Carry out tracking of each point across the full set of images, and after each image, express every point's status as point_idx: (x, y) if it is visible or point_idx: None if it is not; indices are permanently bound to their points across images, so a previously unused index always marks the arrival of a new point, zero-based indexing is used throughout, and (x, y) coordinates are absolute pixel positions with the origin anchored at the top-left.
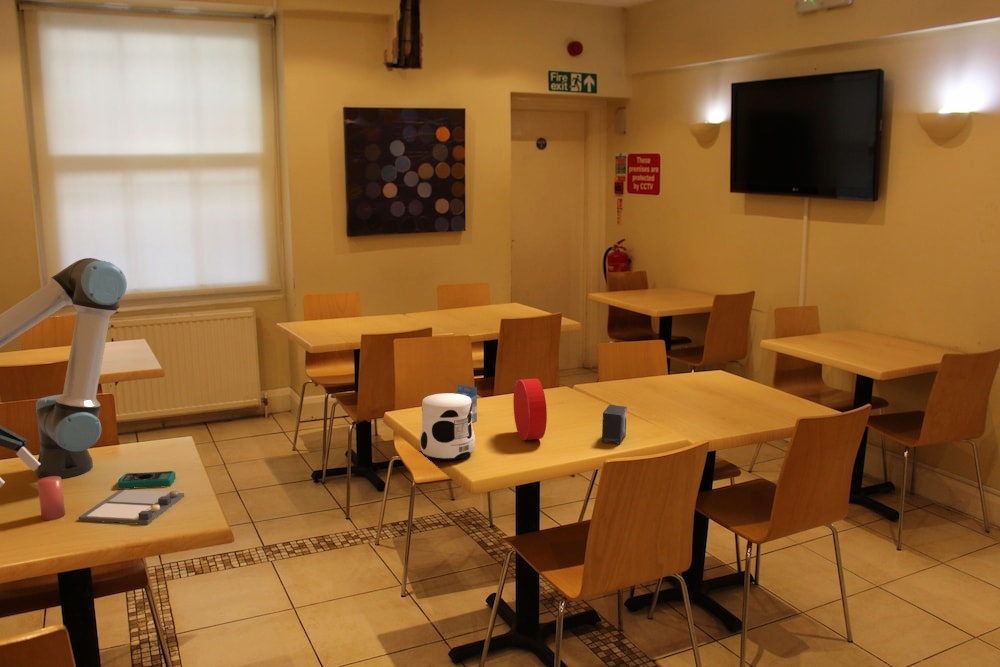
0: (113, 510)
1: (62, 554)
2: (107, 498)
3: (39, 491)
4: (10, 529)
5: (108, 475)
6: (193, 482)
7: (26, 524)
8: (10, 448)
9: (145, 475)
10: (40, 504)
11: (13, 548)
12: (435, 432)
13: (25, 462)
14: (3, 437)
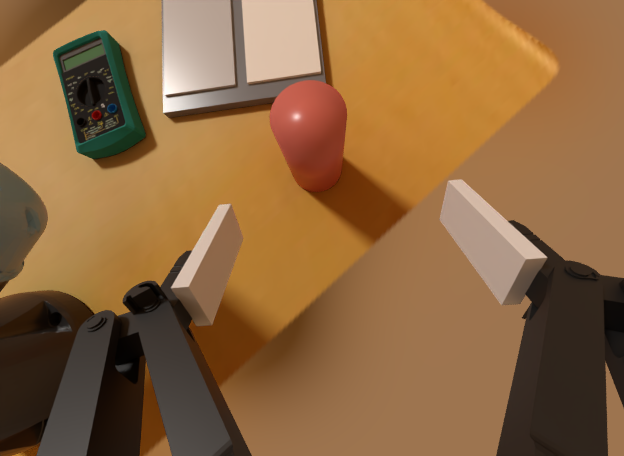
0: (280, 37)
1: (481, 9)
2: (215, 103)
3: (342, 144)
4: (408, 207)
5: (67, 221)
6: (91, 14)
7: (373, 192)
8: (204, 361)
9: (80, 101)
10: (339, 165)
11: (491, 122)
12: None
13: (229, 268)
14: (191, 431)
